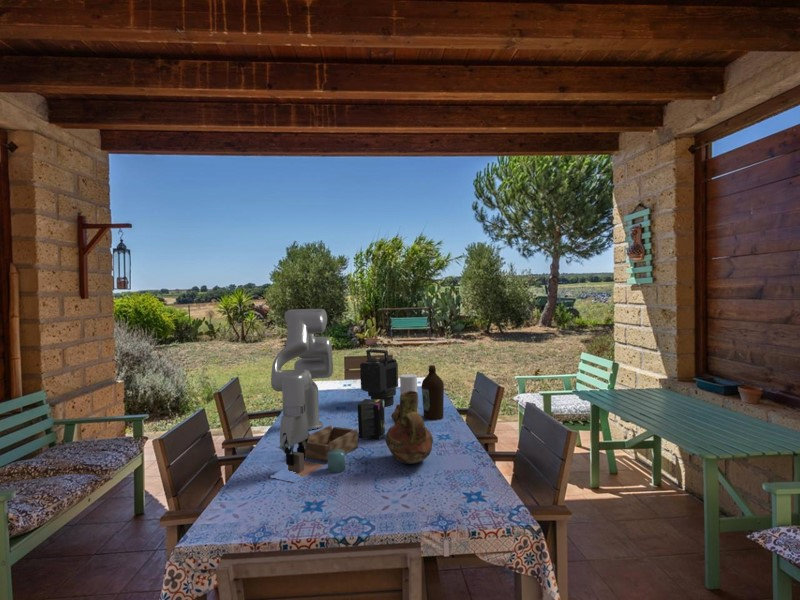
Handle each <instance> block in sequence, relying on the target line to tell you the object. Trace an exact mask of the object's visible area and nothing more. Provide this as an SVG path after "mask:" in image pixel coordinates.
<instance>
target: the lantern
mask: <svg viewBox="0 0 800 600" xmlns="http://www.w3.org/2000/svg"><path fill="white" fill-rule="evenodd" d="M365 352H366V353H365V354H366V359H367V360H366V361H364V362H360V364H359V368H360V369H359V371H360V389H361V390H362V391H363V392H367V395H368V397H370V399H384V408H389V407H392V406H393V404H394V403H395V401H394V400H395V399H394V398H395V397H394V396H396V395H397V388H399V363H398V361H397V359H395V358H390V357H389V351H388V350H386V349H372V348H371V349H367V350H366V351H365ZM371 353H372V354H373V353H374V354H383V355H384V358H383V357H372V356H371V355H372V354H371ZM391 405H392V406H391ZM388 406H389V407H388Z"/></svg>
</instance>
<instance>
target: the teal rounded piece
mask: <svg viewBox="0 0 800 600" xmlns="http://www.w3.org/2000/svg"><path fill="white" fill-rule="evenodd" d="M327 457H328V463H327V471H328V472H329V473H332V474H337V473H338V474H340V473H343V472H344V471H346V455H345V451H344V450H340V449H336V450H331V451H329V452H328V453H327Z"/></svg>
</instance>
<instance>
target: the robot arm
mask: <svg viewBox="0 0 800 600" xmlns="http://www.w3.org/2000/svg"><path fill="white" fill-rule="evenodd" d="M284 322H285V324H286V325H287V329H286V330H287V332H286V345H285V346H284V347H283V348H282V349H281V350H280V351H279V352H278V354H276V356H275V358H274V359H273V362H272V366H271V375H270V376H271V377H270V385H271V388H272V389H273V390H274V391H275V392H282V394H281V395H282V396H281V397H282V415H281V418H280V423H279V424H280V425H279V447H278V448H279V450H282V451H283V452H284V454H285V463H286V465H287V466H288V465H290V466H294V465H295V462H294V454H293V451H294V448H295V447H294V446H295V445H297V448H296V452H300V453H304V461H306V459H305V448H306V443H307V441H308V439H309V437H310V434H311V433H309V431H312V429H314V430H318V429H320V428H322V427H323V426H324V424H323V422H322V421H320V406H319V387H318V385H317V384H316V382H315V380H314V379H327V378H330V377H331V376H332V375H333V373H334V363H333V362H334V361H333V345H332V342H331V339H330V338H328V337H327V336H315V334H323V333H324V332H325V330H326V328H327V324H328V315H327V312H326V310H325V309H323V308H302V309H301V308H299V309H295V308H294V309H288V310H287V311H285V313H284ZM296 358H299V359H297V360H296V361H295V362H294V365H293V367H294V368H293V369H283V370H282V367H283V366H284V365H285V364H287V363H288V362H290V361H292V360H294V359H296ZM317 428H318V429H317Z"/></svg>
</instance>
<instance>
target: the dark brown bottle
mask: <svg viewBox="0 0 800 600" xmlns="http://www.w3.org/2000/svg"><path fill="white" fill-rule="evenodd" d="M444 387H445V385H444V380H443V379H442V378H441V377H440V376H439V375H438V374H437V369H436V365H435V364H429V365H428V374H427V375H426V376H425V378H424V379H423V380H422V382H421V396H422V397H421V398H422V410H423V418H424V420H427V419H429V420H428V421H438V420H437V419H439V420H442V419H444V400H445V399H444V397H445V392H444V391H445V388H444Z"/></svg>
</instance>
